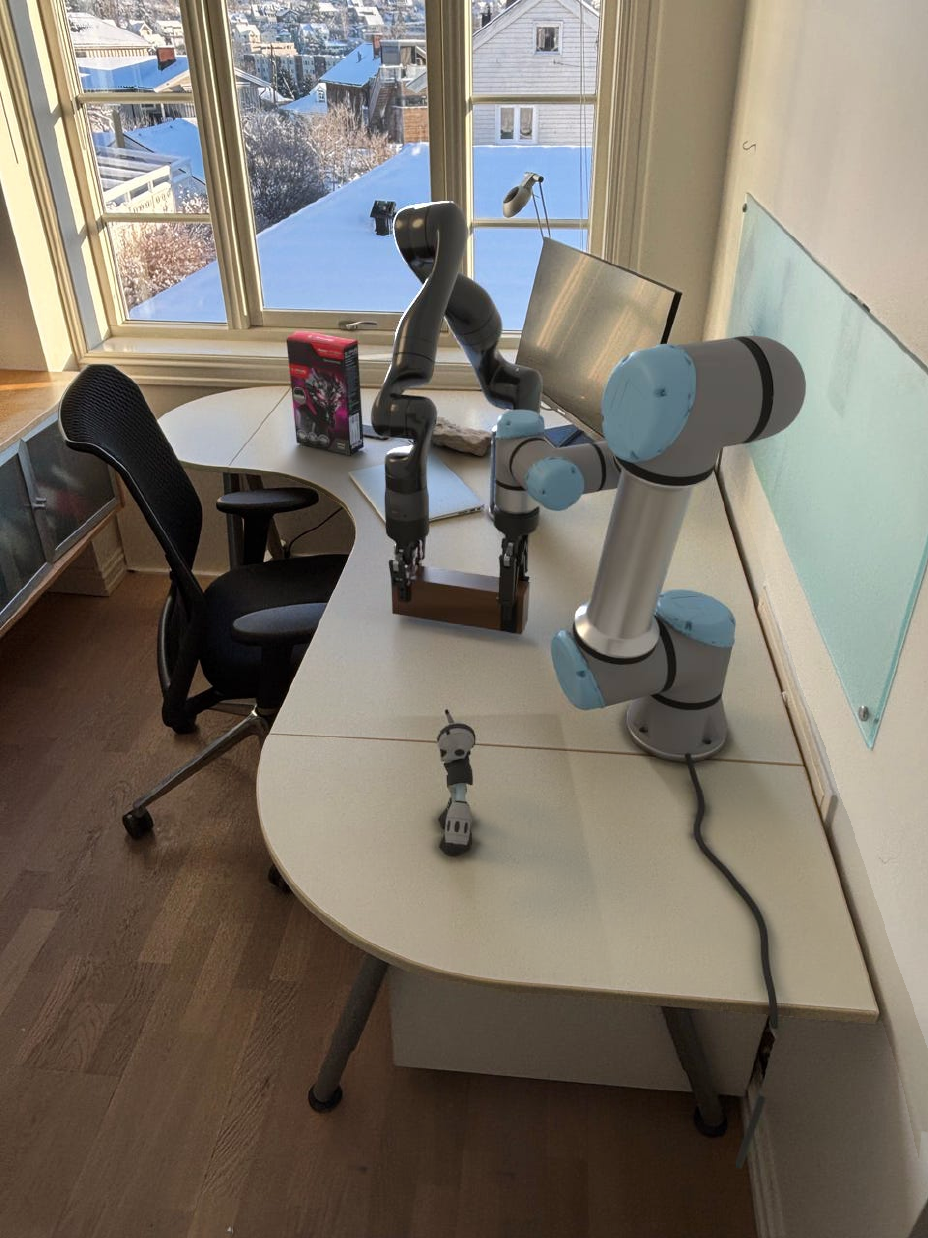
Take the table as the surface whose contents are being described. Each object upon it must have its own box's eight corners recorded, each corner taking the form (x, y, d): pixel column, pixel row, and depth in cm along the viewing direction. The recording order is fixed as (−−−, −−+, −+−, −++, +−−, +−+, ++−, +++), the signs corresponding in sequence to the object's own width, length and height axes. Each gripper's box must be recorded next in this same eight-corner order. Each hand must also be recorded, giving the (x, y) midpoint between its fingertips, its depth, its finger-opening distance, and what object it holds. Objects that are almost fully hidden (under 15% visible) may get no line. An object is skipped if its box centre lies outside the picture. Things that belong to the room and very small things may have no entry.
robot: (478, 890, 117) (481, 774, 106) (439, 891, 117) (438, 775, 106) (469, 781, 133) (471, 671, 122) (436, 782, 133) (434, 671, 122)
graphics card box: (294, 443, 234) (283, 336, 218) (310, 434, 239) (300, 328, 224) (350, 457, 227) (343, 347, 212) (366, 447, 232) (360, 339, 217)
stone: (397, 439, 228) (402, 416, 226) (416, 430, 242) (421, 408, 239) (477, 464, 225) (483, 440, 222) (491, 454, 238) (497, 431, 236)
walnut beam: (521, 634, 162) (523, 596, 157) (392, 613, 167) (390, 576, 162) (527, 619, 166) (529, 581, 161) (401, 599, 171) (399, 562, 166)
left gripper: (414, 531, 150) (417, 617, 160) (440, 493, 162) (440, 576, 171) (371, 525, 152) (376, 611, 162) (399, 488, 164) (402, 570, 173)
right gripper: (527, 533, 143) (521, 654, 156) (549, 484, 157) (542, 599, 170) (481, 526, 144) (478, 647, 157) (507, 479, 159) (502, 593, 172)
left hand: (409, 592), depth 166 cm, fingers closed on walnut beam, 5 cm apart
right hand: (511, 622), depth 164 cm, fingers closed on walnut beam, 5 cm apart
